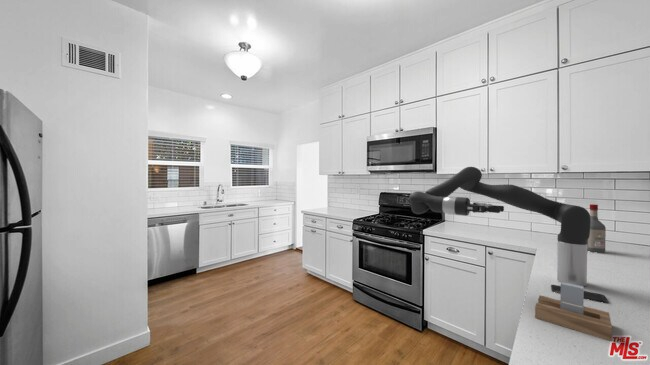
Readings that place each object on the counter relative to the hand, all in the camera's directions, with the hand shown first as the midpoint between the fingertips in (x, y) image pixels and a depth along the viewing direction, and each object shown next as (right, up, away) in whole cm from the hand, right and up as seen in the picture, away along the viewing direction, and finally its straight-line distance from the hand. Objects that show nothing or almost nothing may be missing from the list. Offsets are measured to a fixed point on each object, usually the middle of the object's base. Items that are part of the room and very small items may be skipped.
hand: (501, 209), depth 98 cm
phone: (+29, -33, 0) cm, 44 cm away
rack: (+8, -32, -19) cm, 38 cm away
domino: (+8, -32, -19) cm, 38 cm away
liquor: (+105, -34, +67) cm, 129 cm away
